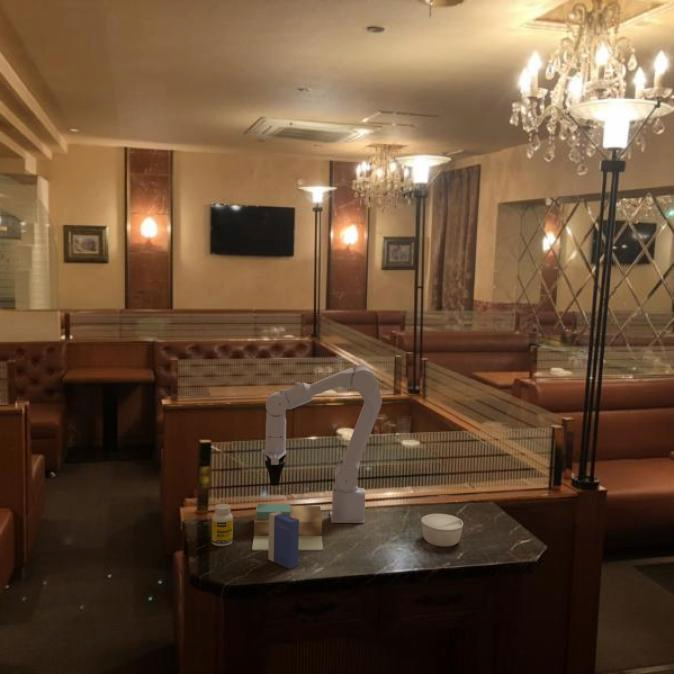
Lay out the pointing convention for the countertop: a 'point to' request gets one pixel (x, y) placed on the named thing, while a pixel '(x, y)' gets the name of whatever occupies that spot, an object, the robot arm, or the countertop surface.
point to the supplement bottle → (222, 525)
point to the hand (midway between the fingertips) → (275, 482)
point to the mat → (304, 545)
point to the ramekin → (441, 529)
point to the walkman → (283, 539)
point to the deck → (306, 514)
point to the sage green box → (272, 510)
